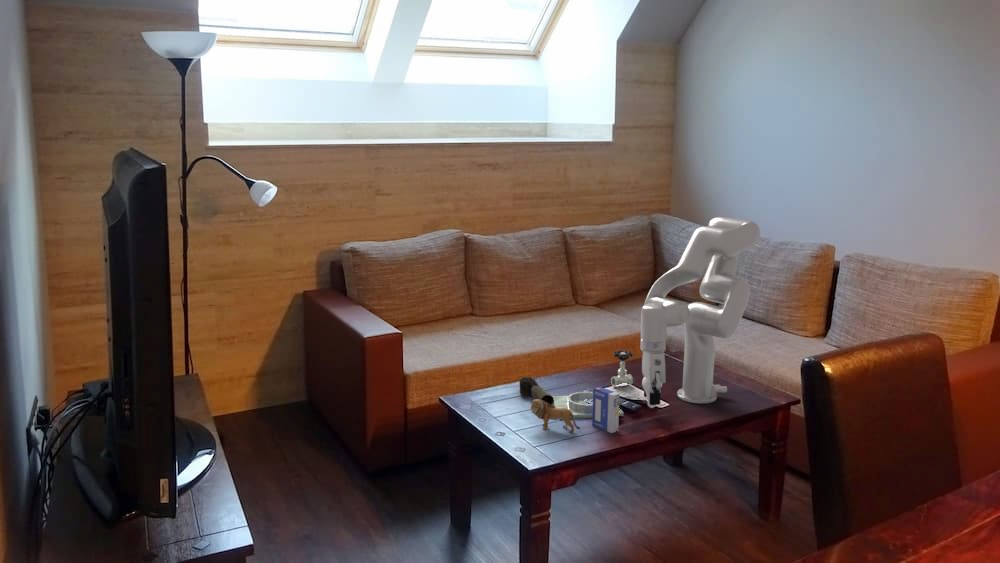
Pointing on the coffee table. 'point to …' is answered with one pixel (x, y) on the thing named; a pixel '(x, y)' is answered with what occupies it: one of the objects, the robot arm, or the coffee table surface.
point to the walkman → (605, 409)
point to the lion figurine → (552, 414)
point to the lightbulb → (648, 390)
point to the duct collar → (577, 404)
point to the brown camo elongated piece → (534, 390)
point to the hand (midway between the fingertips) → (651, 399)
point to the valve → (622, 369)
